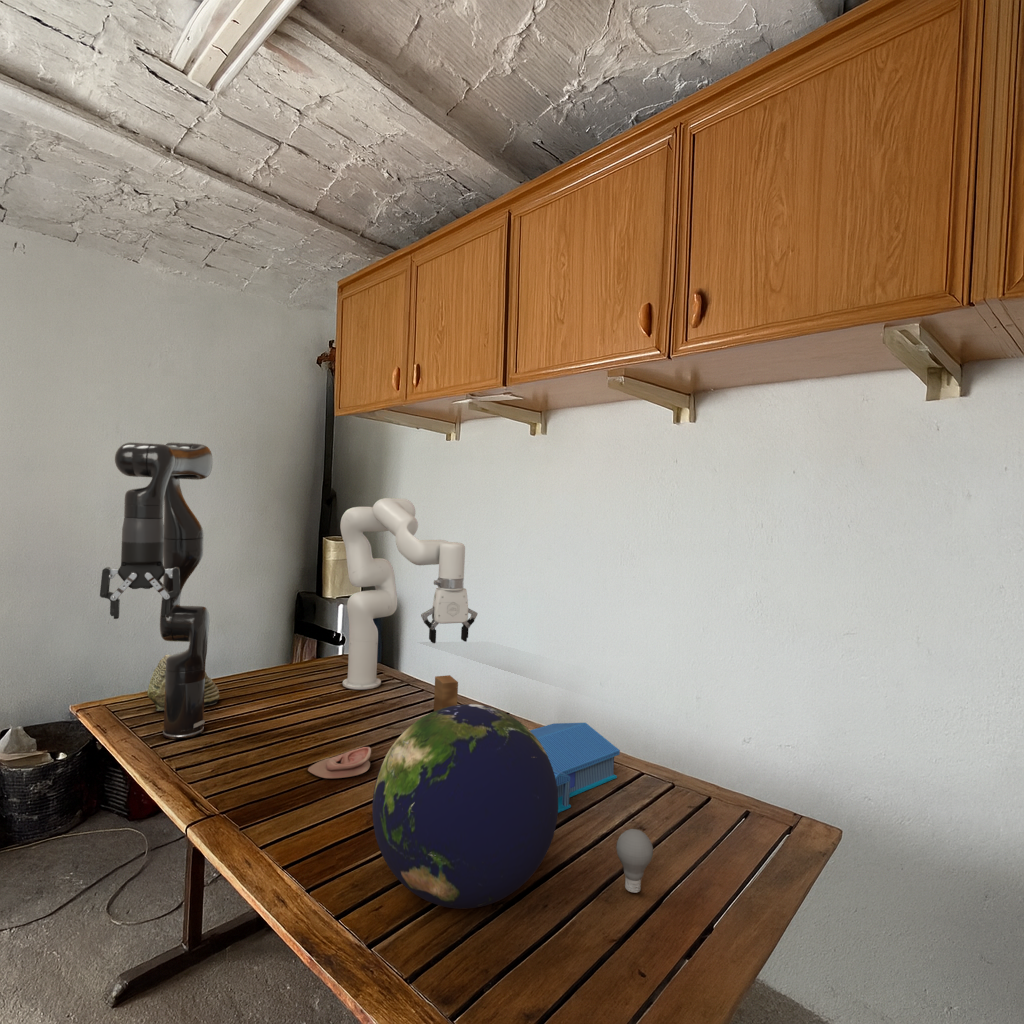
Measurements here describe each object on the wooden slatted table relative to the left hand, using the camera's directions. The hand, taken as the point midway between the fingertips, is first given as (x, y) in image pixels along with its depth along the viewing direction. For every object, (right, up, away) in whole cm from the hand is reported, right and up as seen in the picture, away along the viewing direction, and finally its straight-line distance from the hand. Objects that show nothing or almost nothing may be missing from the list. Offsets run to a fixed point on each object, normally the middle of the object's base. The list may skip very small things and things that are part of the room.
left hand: (140, 617), depth 131 cm
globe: (+69, -40, -28) cm, 85 cm away
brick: (+57, -38, +57) cm, 89 cm away
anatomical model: (+37, -38, +16) cm, 55 cm away
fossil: (-19, -35, +54) cm, 67 cm away
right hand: (+58, -17, +57) cm, 83 cm away
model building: (+81, -40, +11) cm, 91 cm away
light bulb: (+97, -42, -26) cm, 109 cm away
